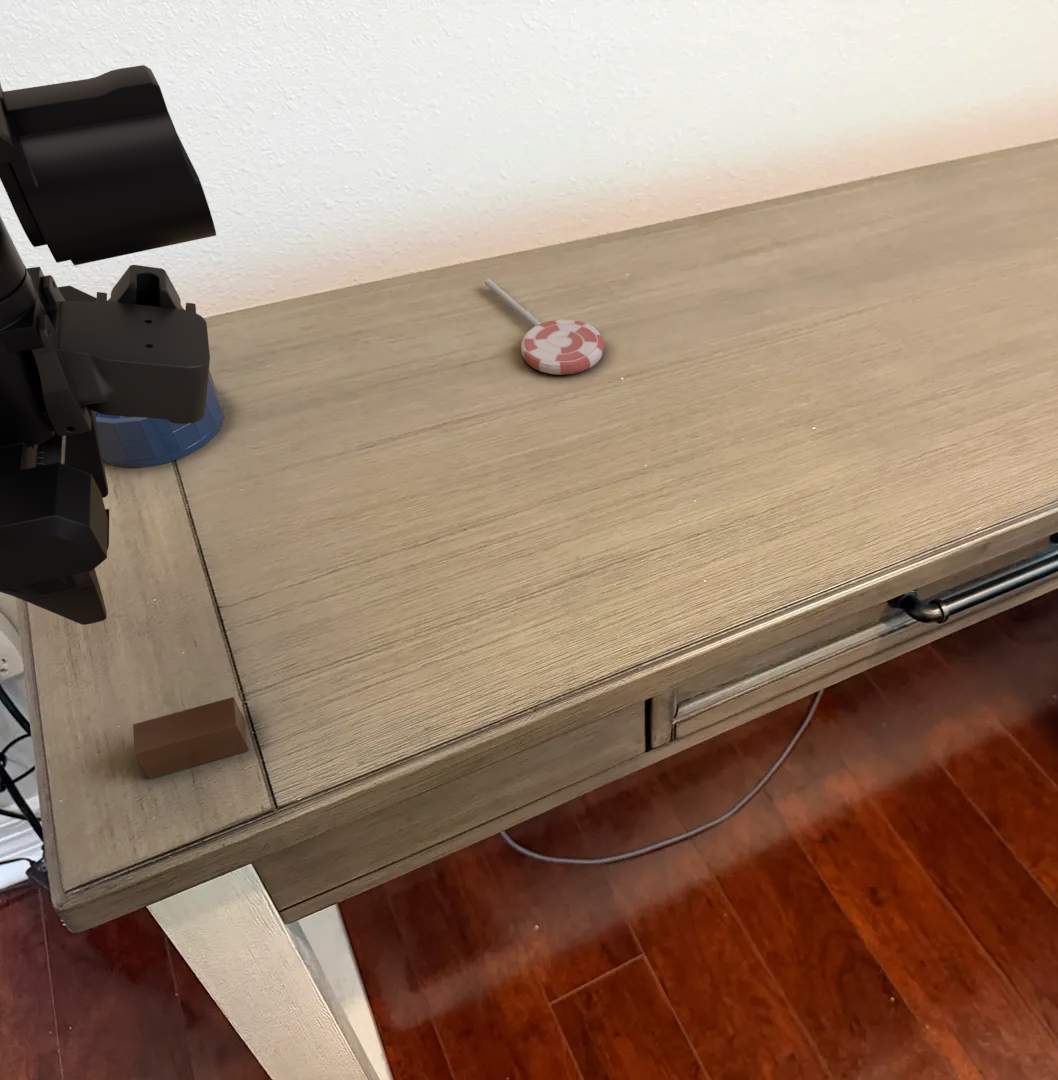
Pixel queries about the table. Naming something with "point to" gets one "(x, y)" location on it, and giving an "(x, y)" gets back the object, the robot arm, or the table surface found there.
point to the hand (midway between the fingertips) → (96, 555)
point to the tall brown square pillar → (190, 737)
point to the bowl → (156, 435)
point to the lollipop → (556, 342)
